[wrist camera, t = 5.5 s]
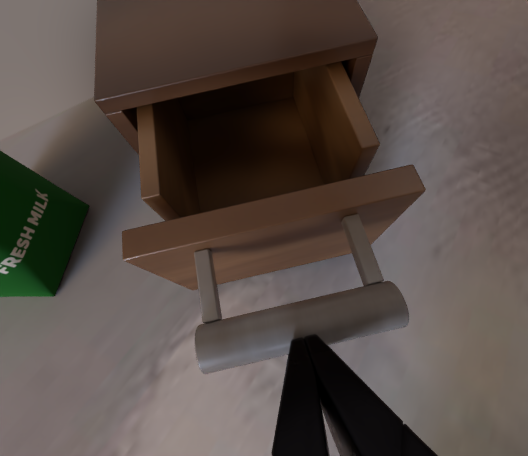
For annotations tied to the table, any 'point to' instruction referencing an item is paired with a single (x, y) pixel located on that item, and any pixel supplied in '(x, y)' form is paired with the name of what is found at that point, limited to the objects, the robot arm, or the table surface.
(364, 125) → the drawer
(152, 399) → the table surface
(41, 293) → the milk carton
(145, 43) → the cabinet
